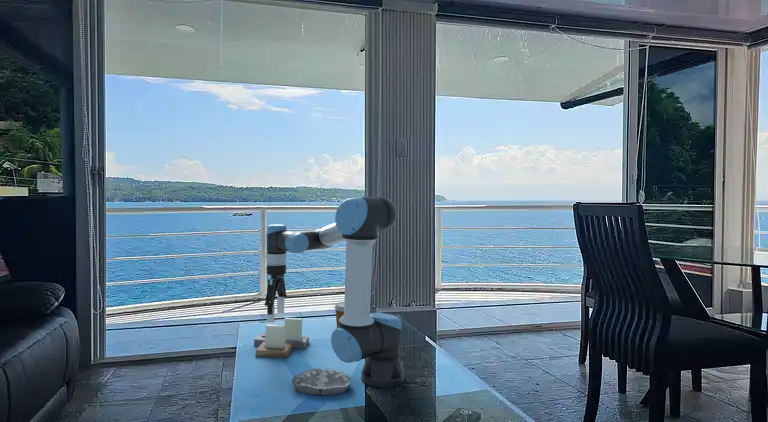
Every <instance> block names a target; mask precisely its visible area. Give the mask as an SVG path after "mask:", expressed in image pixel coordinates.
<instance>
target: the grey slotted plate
mask: <svg viewBox="0 0 768 422" xmlns="http://www.w3.org/2000/svg"><path fill="white" fill-rule="evenodd" d="M265 340H266V333H261V332H260V333H259V334H258V335H257V336H256V337H254V339H253V345H254V346H256V347H259V346H260V345H261V344H262V343H263V342H264V341H265ZM284 343H293V349H300V350H301V349H303V350H304V349H306V347H307V346H308V344H309V343H310V336H308V335H307V336H304V335H302V340H292V339H284Z"/></svg>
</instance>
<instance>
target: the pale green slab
mask: <svg viewBox="0 0 768 422" xmlns="http://www.w3.org/2000/svg"><path fill="white" fill-rule="evenodd" d="M284 325H285V324H283V325H279V324H266V325H265V334H266V340H265V347H270V348H284Z"/></svg>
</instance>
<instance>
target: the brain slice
mask: <svg viewBox="0 0 768 422" xmlns="http://www.w3.org/2000/svg"><path fill="white" fill-rule="evenodd" d="M351 380H352V378H351V377H350V376H348V375H347V373H344V372H343V371H340V370H337V369H334V368H325V369H323V368H312V369H308V370H305V371H303V372H301V373H299V374H297V375H295V376H294V377H293V378H292V380H291V385H292V386H293V388H294V389H295V390H297V391H298V392H299V393H304V394H309V395H315V396H316V395H317V396H319V395H320V396H328V395H329V396H330V395H339V394H342V393H344V392H345V391H347V389H349V386H350V385H351Z"/></svg>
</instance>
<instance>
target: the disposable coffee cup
mask: <svg viewBox="0 0 768 422" xmlns="http://www.w3.org/2000/svg"><path fill="white" fill-rule="evenodd" d="M334 310H335V318H336V319H335V320H336V329H338V328H339V319H340V318H341V317H342V316H343V315H344V301H341V302H337V303H335V305H334Z"/></svg>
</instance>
